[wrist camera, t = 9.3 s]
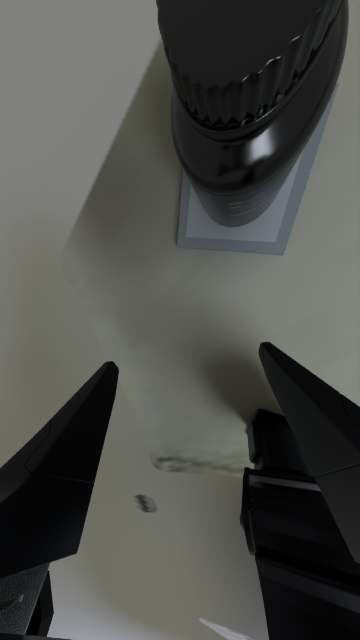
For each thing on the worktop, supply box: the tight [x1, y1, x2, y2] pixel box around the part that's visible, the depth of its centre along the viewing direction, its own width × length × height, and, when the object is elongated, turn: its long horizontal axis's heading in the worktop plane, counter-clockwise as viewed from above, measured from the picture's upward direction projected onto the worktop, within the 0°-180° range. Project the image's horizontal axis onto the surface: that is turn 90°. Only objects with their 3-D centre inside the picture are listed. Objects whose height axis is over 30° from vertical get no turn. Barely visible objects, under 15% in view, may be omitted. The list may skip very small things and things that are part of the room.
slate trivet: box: [177, 84, 338, 255], centre depth 14 cm, size 11×11×1 cm
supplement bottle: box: [156, 0, 349, 227], centre depth 9 cm, size 7×7×12 cm
